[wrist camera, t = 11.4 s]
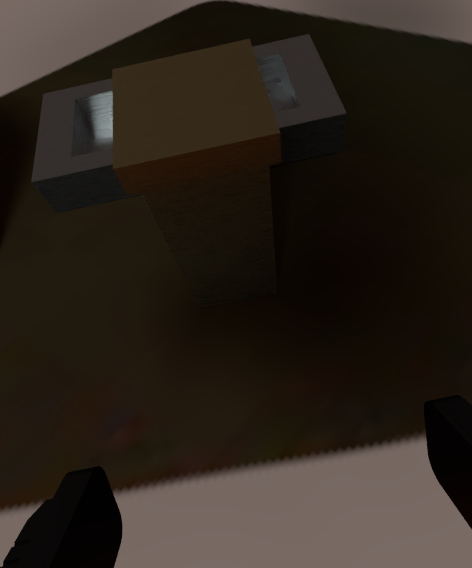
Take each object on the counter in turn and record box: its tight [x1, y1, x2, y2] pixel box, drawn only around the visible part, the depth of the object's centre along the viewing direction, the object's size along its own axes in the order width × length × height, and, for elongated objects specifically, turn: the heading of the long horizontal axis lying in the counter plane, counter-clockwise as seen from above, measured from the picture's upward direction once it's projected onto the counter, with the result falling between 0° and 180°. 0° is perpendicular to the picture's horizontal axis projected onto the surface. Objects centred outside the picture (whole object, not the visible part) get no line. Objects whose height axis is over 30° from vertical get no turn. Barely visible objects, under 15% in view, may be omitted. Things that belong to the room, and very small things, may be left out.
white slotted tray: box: [31, 34, 347, 213], centre depth 27 cm, size 20×9×3 cm, turn 100°
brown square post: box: [112, 39, 281, 309], centre depth 18 cm, size 5×5×11 cm
